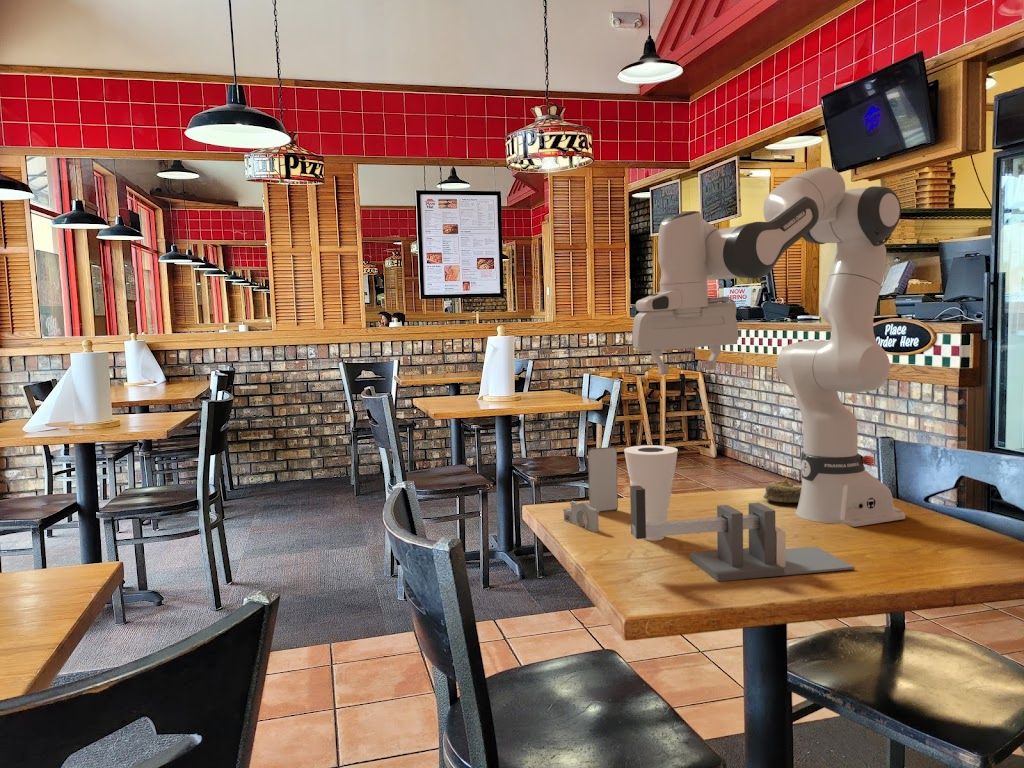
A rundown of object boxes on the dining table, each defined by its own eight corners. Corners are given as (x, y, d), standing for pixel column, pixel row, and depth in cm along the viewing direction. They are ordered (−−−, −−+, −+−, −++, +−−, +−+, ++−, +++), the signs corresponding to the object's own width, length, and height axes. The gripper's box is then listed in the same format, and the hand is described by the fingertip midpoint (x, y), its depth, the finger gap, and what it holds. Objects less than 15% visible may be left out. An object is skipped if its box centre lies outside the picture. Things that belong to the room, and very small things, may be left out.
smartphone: (590, 513, 172) (588, 449, 171) (589, 513, 173) (587, 448, 172) (618, 510, 174) (616, 446, 173) (617, 510, 175) (615, 446, 173)
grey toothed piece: (562, 522, 167) (562, 496, 166) (569, 520, 167) (568, 494, 167) (594, 534, 156) (593, 506, 156) (601, 533, 157) (600, 505, 156)
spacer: (767, 555, 137) (767, 521, 137) (785, 566, 131) (785, 531, 130) (759, 556, 137) (759, 522, 136) (776, 567, 131) (776, 531, 130)
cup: (626, 529, 159) (624, 445, 157) (677, 530, 157) (676, 445, 155) (625, 544, 148) (623, 454, 147) (680, 545, 146) (679, 454, 145)
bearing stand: (751, 554, 140) (751, 498, 139) (784, 575, 128) (784, 515, 127) (690, 559, 138) (689, 503, 137) (717, 581, 126) (717, 520, 125)
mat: (816, 548, 142) (816, 546, 142) (854, 569, 130) (854, 566, 130) (751, 554, 140) (751, 551, 140) (784, 575, 128) (784, 573, 128)
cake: (777, 506, 174) (777, 484, 173) (755, 497, 183) (755, 475, 183) (816, 503, 176) (816, 480, 175) (792, 493, 185) (792, 472, 185)
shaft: (754, 524, 135) (754, 477, 134) (763, 528, 131) (763, 481, 131) (631, 533, 131) (630, 486, 130) (636, 539, 128) (636, 490, 127)
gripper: (728, 296, 147) (730, 366, 148) (627, 302, 144) (631, 374, 145) (743, 295, 140) (745, 368, 142) (638, 302, 137) (642, 377, 139)
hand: (687, 371), depth 143 cm, fingers open, 8 cm apart
